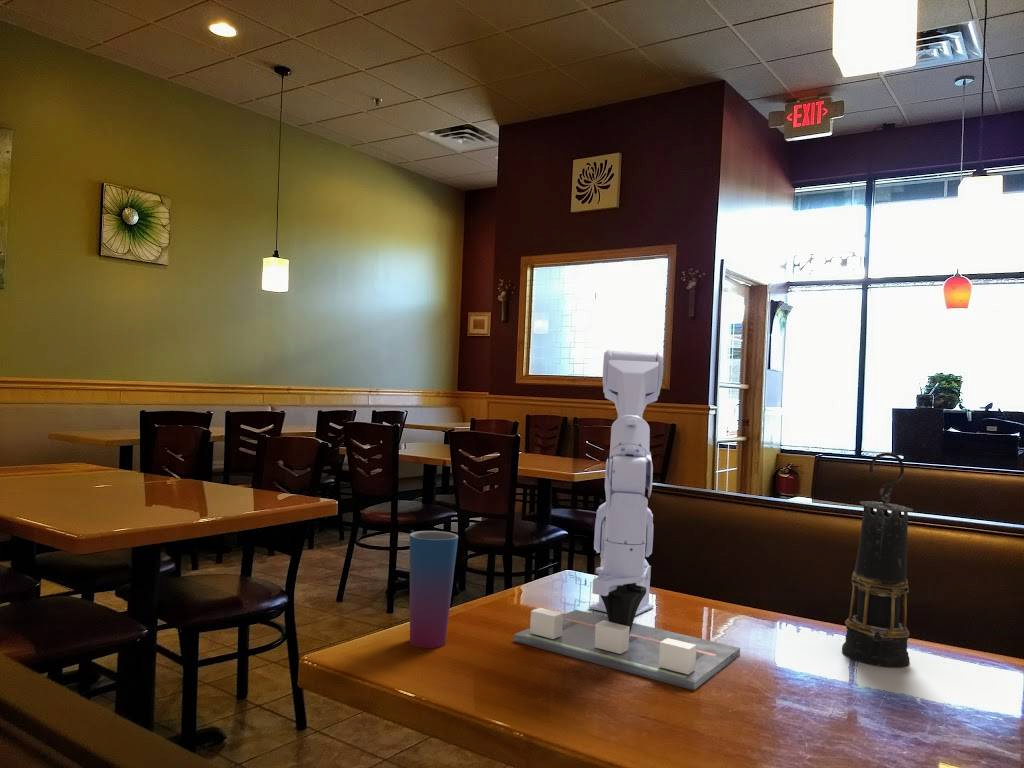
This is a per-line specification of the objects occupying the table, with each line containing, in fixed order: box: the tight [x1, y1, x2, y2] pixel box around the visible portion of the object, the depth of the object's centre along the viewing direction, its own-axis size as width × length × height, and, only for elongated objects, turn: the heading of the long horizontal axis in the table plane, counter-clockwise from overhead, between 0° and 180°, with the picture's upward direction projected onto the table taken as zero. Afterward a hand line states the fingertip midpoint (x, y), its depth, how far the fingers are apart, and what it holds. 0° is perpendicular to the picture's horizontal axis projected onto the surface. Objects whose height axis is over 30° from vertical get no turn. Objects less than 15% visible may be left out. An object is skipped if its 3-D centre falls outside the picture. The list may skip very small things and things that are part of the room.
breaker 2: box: [659, 638, 696, 675], centre depth 98 cm, size 2×4×3 cm, turn 56°
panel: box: [513, 609, 741, 691], centre depth 109 cm, size 18×27×1 cm, turn 56°
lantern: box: [841, 452, 914, 669], centre depth 112 cm, size 9×9×30 cm
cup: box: [409, 530, 459, 649], centre depth 107 cm, size 7×7×15 cm
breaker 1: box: [529, 607, 564, 639], centre depth 110 cm, size 2×4×3 cm, turn 56°
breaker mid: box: [595, 621, 630, 654], centre depth 105 cm, size 2×4×3 cm, turn 56°
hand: (619, 637), depth 107 cm, fingers closed
